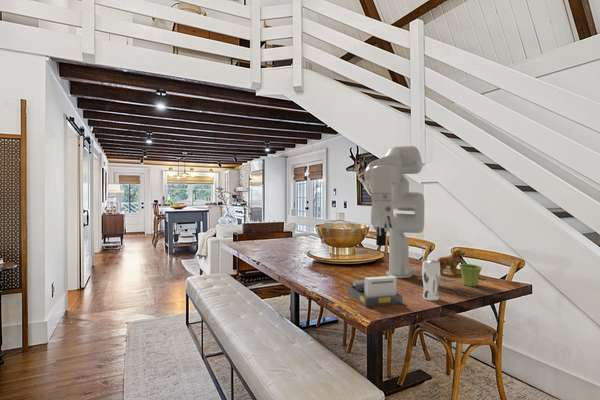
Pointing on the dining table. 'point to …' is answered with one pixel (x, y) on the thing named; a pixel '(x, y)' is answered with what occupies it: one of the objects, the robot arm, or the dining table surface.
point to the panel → (380, 286)
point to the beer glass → (430, 279)
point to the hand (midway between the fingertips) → (381, 245)
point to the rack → (358, 294)
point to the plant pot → (470, 274)
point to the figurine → (451, 261)
